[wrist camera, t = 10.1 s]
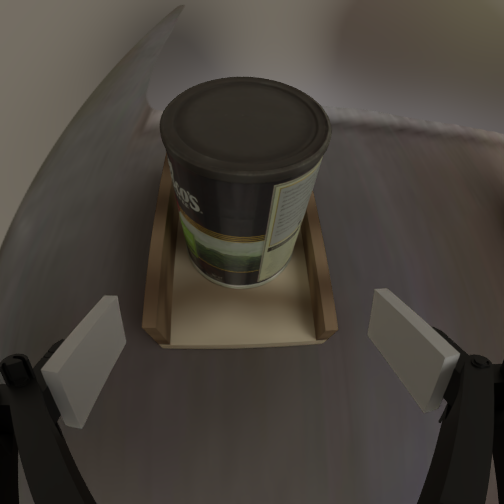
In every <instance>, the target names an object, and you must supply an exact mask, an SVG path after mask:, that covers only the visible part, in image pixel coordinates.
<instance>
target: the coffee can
mask: <svg viewBox="0 0 504 504" xmlns="http://www.w3.org/2000/svg"><path fill="white" fill-rule="evenodd" d="M331 132H332V128H331V124H330V120H329V118H328V116H327V114H326V112H325V111H324V109H323V108H322V107H321V105H319V103H317V102H316V101H315V100H314V99H313V98H311V97H310V96H308V95H307V94H306V93H304V92H302V91H300V90H298V89H296V88H294V87H292V86H289V85H286V84H284V83H281V82H277V81H273V80H269V79H263V78H254V77H229V78H221V79H216V80H211V81H207V82H204V83H201V84H198V85H196V86H193V87H192V88H189V89H187V90H185V91H184V92H182V93H181V94H179V95H178V96H177V97H176V98H174V99H173V100H172V101H171V102H170V103H169V104H168V106H167V107H166V108H165V110H164V111H163V114H162V116H161V120H160V133H161V138H162V141H163V144H164V146H165V148H166V152H167V158H168V163H169V167H170V172H171V178H172V182H173V187H174V192H175V197H176V201H177V205H178V210H179V214H180V219H181V223H182V228H183V232H184V236H185V241H186V249H187V253H188V256H189V259H190V261H191V262H192V264H193V266H194V267H195V268H196V270H197V271H198V272H199V273H200V274H201V275H203V276H204V277H205V278H206V279H208V280H209V281H211V282H213V283H215V284H217V285H220V286H223V287H227V288H234V289H248V288H254V287H258V286H261V285H264V284H266V283H268V282H270V281H272V280H273V279H275V278H276V277H277V276H278V275H280V274H281V273H282V272H283V270H284V269H285V268H286V267H287V265H288V263H289V262H290V260H291V257H292V254H293V249H294V245H295V242H296V239H297V236H298V233H299V230H300V227H301V224H302V221H303V218H304V215H305V212H306V209H307V205H308V202H309V199H310V196H311V193H312V190H313V187H314V183H315V180H316V177H317V174H318V171H319V167H320V164H321V161H322V158H323V155H324V153H325V152H326V150H327V147H328V145H329V142H330V139H331Z"/></svg>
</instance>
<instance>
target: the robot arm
mask: <svg viewBox="0 0 504 504" xmlns="http://www.w3.org/2000/svg"><path fill="white" fill-rule="evenodd" d="M367 335H368V337H369V338H370V339H371V341H372V342H373V343H374V345H375V346H376V347H377V349H378V350H379V351H380V353H381V354H382V356H383V357H384V358H385V360H386V361H387V362H388V364H389V365H390V366H391V368H392V369H393V371H394V372H395V373H396V375H397V376H398V378H399V379H400V380H401V382H402V383H403V384H404V386H405V387H406V389H407V390H408V391H409V393H410V394H411V396H412V397H413V399H414V400H415V401H416V403H417V404H418V406H419V407H420V409H421V410H422V411H423V413H426V412H430V411H433V410H436V409H438V408H439V406H440V404H441V401H442V399H443V398H444V399H445V400H446V401H447V406H446V408H445V410H444V412H443V414H442V416H441V418H440V420H439V423H441V422H442V424H441V428H440V432H439V436H438V440H437V444H436V448H435V451H434V455H433V458H432V462H431V465H430V468H429V471H428V474H427V477H426V480H425V483H424V486H423V489H422V492H421V494H420V497H419V500H418V502H417V504H485V500H486V495H487V489H488V483H489V476H490V468H491V459H492V454H493V460H494V466H495V473H496V481H497V489H498V500H499V504H504V360H503V363H502V364H492V363H491V361H490V360H489V359H487V358H485V357H484V356H480V355H468V354H467V353H466V352H464V351H463V350H462V349H461V348H460V347H459V346H458V345H457V344H456V343H455V342H454V343H453V341H452V340H451V339H450V338H448V336H447V335H446V334H445V333H443V332H442V331H441V330H439V329H437V328H435V327H431V326H430V325H428V324H427V323H426V322H425V321H424V320H423V319H422V318H421V317H419V316H418V315H417V314H416V313H415V312H414V311H413V310H412V309H410V308H409V307H408V306H407V305H406V304H405V303H404V302H402V301H401V300H400V299H399V298H398V297H397V296H395V295H394V294H393V293H392V292H391V291H390V290H388V289H387V288H384V289H375V290H374V297H373V303H372V310H371V316H370V322H369V328H368V333H367ZM125 344H126V338H125V333H124V328H123V323H122V318H121V313H120V307H119V302H118V296H105V295H104V296H103V297H102V299H101V300H100V301H99V302H98V303H97V304H96V305H95V306H94V307H93V308H92V310H91V311H90V312H89V313H88V314H87V315H86V316H85V317H84V319H83V320H82V321H81V322H80V323H79V324H78V325H77V327H76V328H75V329H74V330H73V331H72V332H71V334H70V335H69V336H68V337H67V338H66V339H65V340H63V339H62V340H60V341H58V342H57V343H55V344H54V345H53V346H52V347H51V348H50V349H49V350H48V353H46V354H45V355H44V356H43V358H41V360H40V361H39V362H38V363H37V364H36V366H35V367H34V368H33V369H32V366H31V364H30V361H29V359H28V357H27V356H26V355H24V354H14V355H10V356H8V357H6V358H5V359H3V360H2V361H1V363H0V372H1V374H2V376H3V378H4V380H5V383H6V384H0V504H19V493H18V450H19V454H20V458H21V462H22V465H23V469H24V472H25V476H26V479H27V482H28V485H29V488H30V491H31V494H32V497H33V500H34V503H35V504H96V502H95V500H94V498H93V497H92V495H91V493H90V491H89V489H88V487H87V486H86V484H85V482H84V480H83V478H82V476H81V474H80V472H79V470H78V468H77V466H76V464H75V462H74V459H73V457H72V455H71V453H70V451H69V448H68V446H67V444H66V441H65V439H64V436H63V434H62V431H61V429H60V427H59V425H58V423H57V421H58V419H59V417H60V415H61V417H62V419H63V421H64V423H65V425H66V426H70V427H74V428H79V429H82V428H83V426H84V424H85V422H86V420H87V418H88V416H89V414H90V412H91V410H92V408H93V406H94V404H95V402H96V400H97V398H98V396H99V394H100V392H101V390H102V388H103V386H104V384H105V382H106V380H107V378H108V376H109V374H110V372H111V370H112V369H113V367H114V365H115V363H116V361H117V359H118V357H119V355H120V354H121V352H122V350H123V348H124V346H125Z"/></svg>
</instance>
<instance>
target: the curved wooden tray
mask: <svg viewBox="0 0 504 504" xmlns="http://www.w3.org/2000/svg"><path fill="white" fill-rule="evenodd" d="M142 328H143V329H144V330H145V331H146V332H147V333H148V334H149V335H150V336H151V337H152V338H153V339H154V340H155V341H156V342H157V343H158V344H159V345H160V346H161V347H162V348H172V349H235V348H264V347H283V346H299V345H312V344H323V343H324V342H325V341H326V340H327V339H328V338H330V337H331V336H332V335H333V334H334V333H335V332H336V331H337V330H338V325H337V318H336V311H335V305H334V298H333V292H332V286H331V280H330V274H329V269H328V263H327V257H326V252H325V247H324V242H323V236H322V231H321V226H320V221H319V217H318V212H317V207H316V202H315V198H314V193H313V190H312V193H311V196H310V199H309V202H308V205H307V209H306V212H305V215H304V218H303V221H302V224H301V227H300V230H299V233H298V236H297V239H296V242H295V245H294V249H293V254H292V257H291V260H290V262H289V263H288V265H287V267H286V268H285V269H284V270H283V272H282V273H281V274H280V275H278V276H277V277H276V278H275V279H273V280H272V281H270V282H268V283H266V284H264V285H261V286H258V287H254V288H248V289H234V288H227V287H223V286H220V285H217V284H215V283H213V282H211V281H209V280H208V279H206V278H205V277H204V276H203V275H201V274H200V273H199V272H198V271H197V270H196V268H195V267H194V266H193V264H192V262H191V261H190V259H189V256H188V253H187V249H186V241H185V236H184V232H183V228H182V223H181V219H180V214H179V210H178V205H177V201H176V197H175V192H174V187H173V182H172V178H171V172H170V167H169V163H168V158H167V152H166V157H165V162H164V167H163V172H162V177H161V182H160V188H159V193H158V199H157V205H156V211H155V217H154V223H153V230H152V237H151V244H150V252H149V260H148V268H147V277H146V286H145V296H144V307H143V320H142Z"/></svg>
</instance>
